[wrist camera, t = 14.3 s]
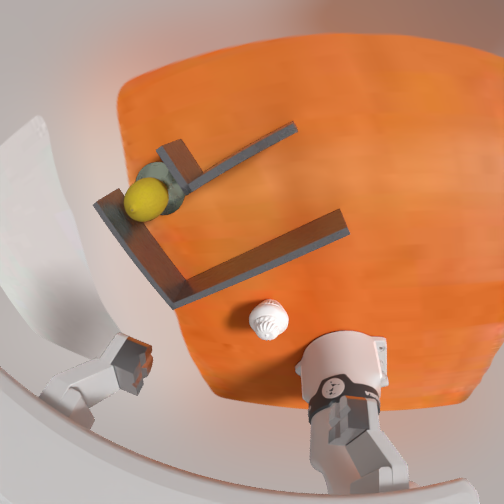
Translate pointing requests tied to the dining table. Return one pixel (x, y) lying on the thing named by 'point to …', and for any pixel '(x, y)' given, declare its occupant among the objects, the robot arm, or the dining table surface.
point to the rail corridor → (178, 185)
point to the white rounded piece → (268, 319)
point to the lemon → (146, 199)
